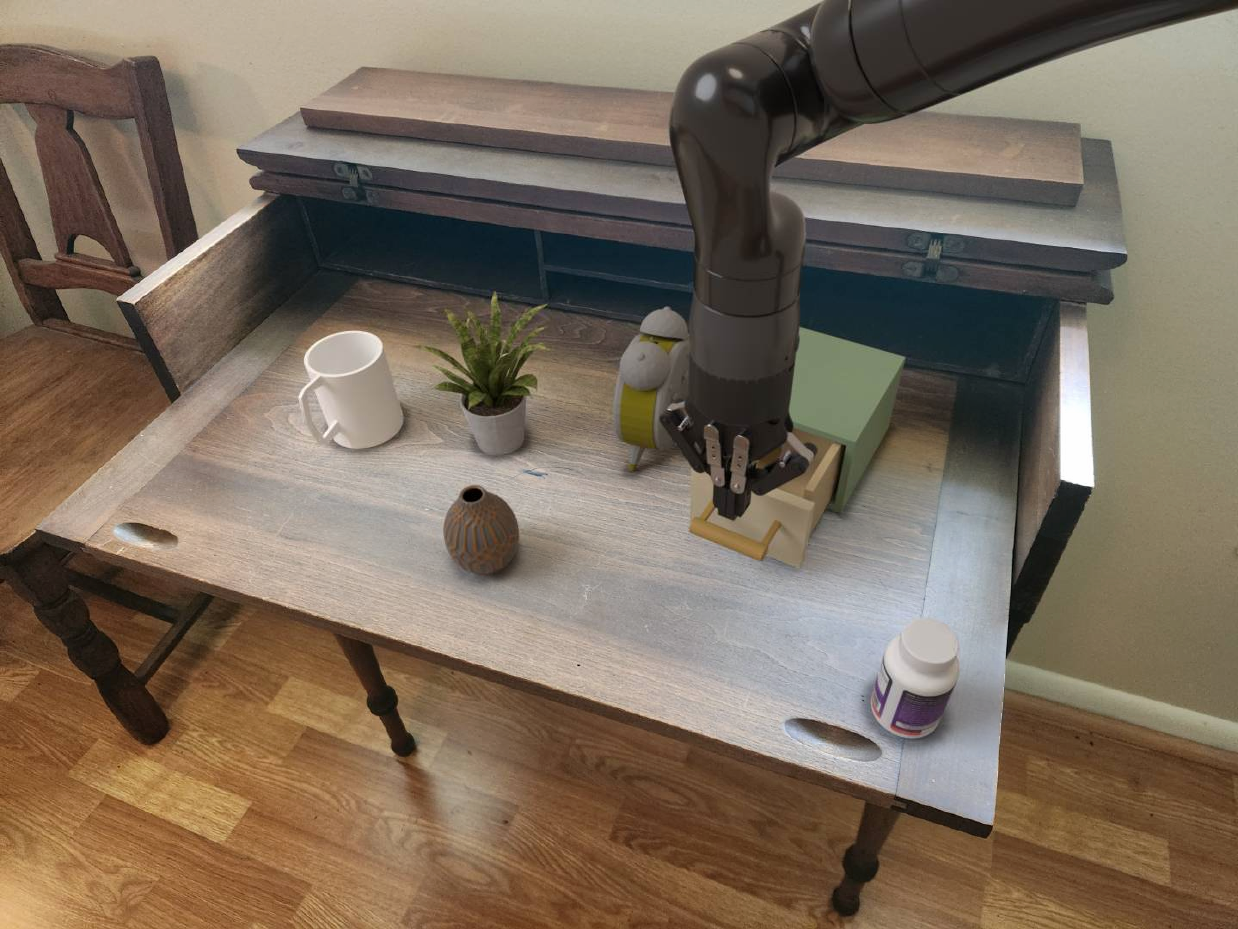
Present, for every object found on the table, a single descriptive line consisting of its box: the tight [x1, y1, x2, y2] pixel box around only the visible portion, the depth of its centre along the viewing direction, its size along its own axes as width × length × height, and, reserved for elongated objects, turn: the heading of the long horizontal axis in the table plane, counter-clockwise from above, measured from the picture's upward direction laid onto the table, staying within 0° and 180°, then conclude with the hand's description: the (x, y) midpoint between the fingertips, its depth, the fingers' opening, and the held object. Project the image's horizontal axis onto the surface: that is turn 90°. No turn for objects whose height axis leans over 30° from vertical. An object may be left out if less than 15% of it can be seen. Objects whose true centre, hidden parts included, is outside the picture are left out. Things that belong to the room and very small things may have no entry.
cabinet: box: [789, 326, 906, 515], centre depth 85 cm, size 15×13×10 cm
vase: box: [442, 484, 520, 575], centre depth 77 cm, size 7×7×9 cm
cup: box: [297, 330, 405, 450], centre depth 90 cm, size 8×12×10 cm
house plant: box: [411, 290, 553, 456], centre depth 86 cm, size 14×14×16 cm
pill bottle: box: [870, 617, 961, 740], centre depth 63 cm, size 5×5×10 cm
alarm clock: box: [612, 306, 689, 472], centre depth 85 cm, size 12×7×15 cm, turn 160°
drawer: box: [688, 428, 846, 570], centre depth 78 cm, size 18×11×8 cm, turn 149°
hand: (731, 511), depth 70 cm, fingers closed
